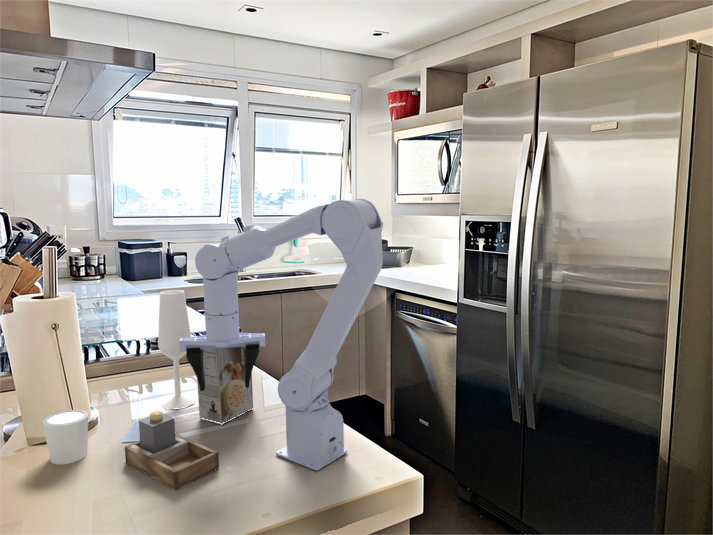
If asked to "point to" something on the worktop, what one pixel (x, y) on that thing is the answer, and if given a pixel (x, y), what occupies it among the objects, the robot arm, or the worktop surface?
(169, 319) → the champagne flute
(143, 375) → the worktop surface
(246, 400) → the coffee box
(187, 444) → the walnut box
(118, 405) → the worktop surface
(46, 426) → the white cup
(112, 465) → the worktop surface
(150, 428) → the plug
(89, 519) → the worktop surface
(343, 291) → the robot arm
